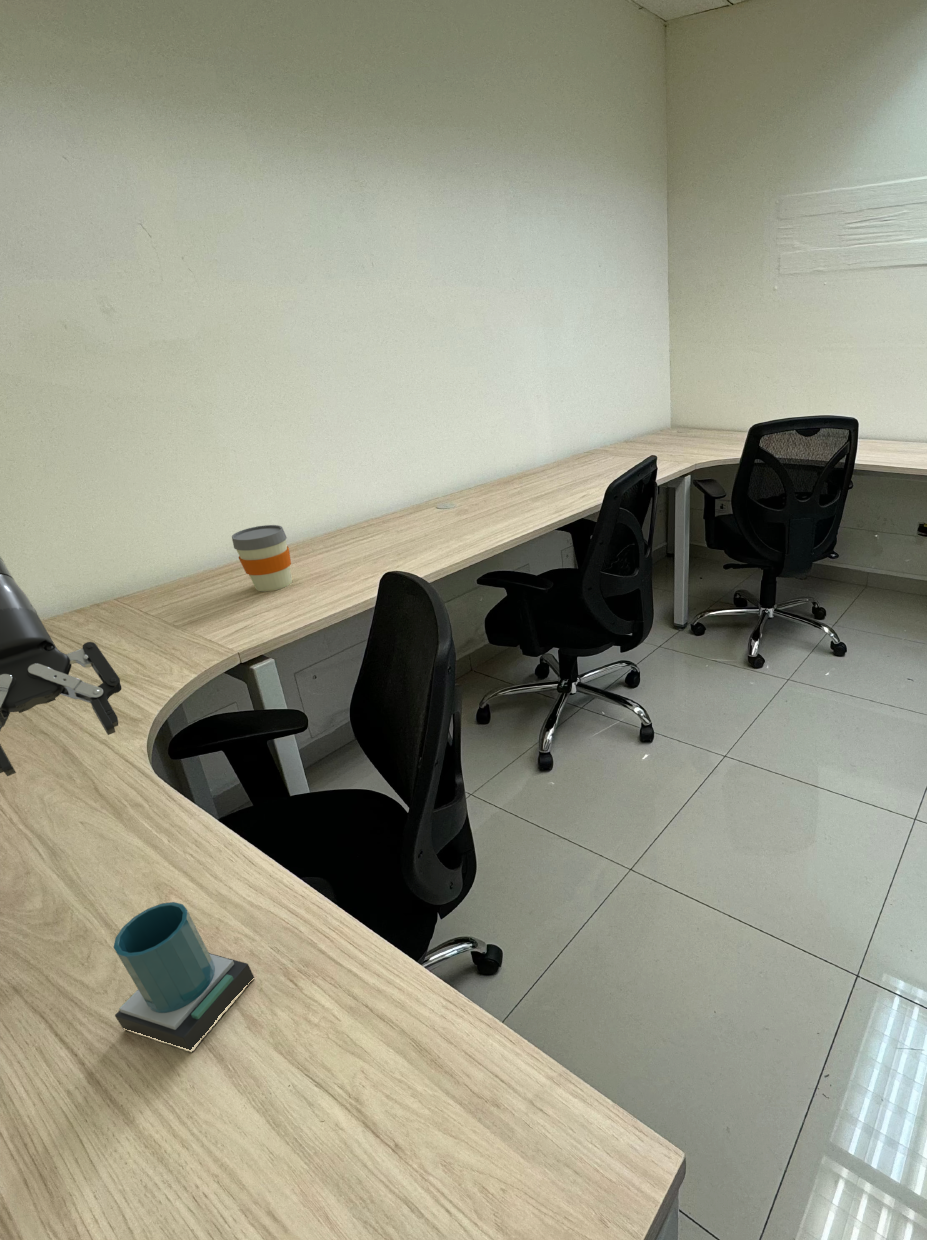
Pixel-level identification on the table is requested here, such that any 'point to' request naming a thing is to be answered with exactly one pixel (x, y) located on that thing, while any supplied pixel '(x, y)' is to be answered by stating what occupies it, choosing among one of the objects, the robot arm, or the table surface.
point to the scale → (188, 1007)
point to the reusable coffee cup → (264, 556)
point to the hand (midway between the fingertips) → (63, 751)
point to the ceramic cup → (165, 957)
